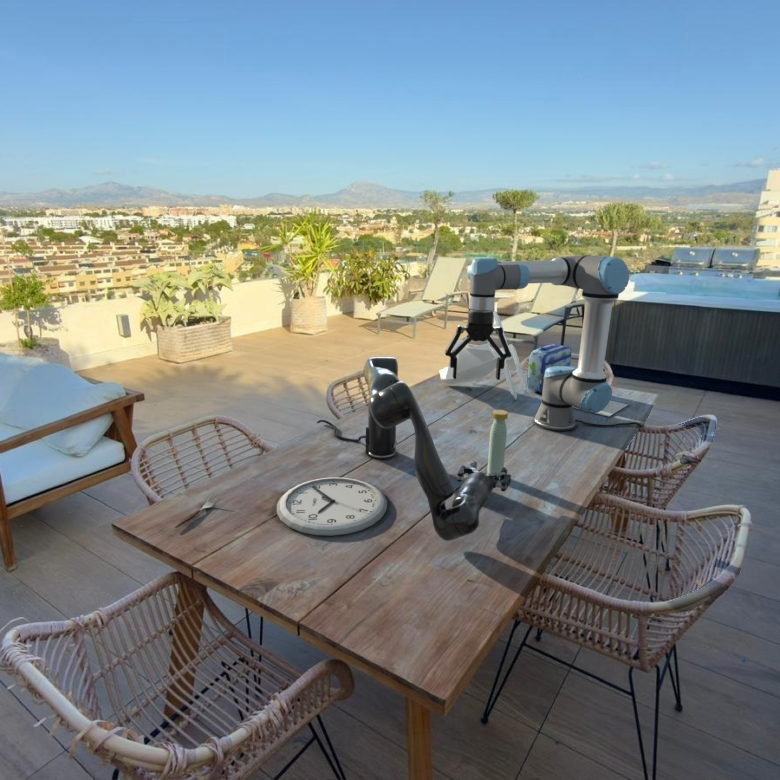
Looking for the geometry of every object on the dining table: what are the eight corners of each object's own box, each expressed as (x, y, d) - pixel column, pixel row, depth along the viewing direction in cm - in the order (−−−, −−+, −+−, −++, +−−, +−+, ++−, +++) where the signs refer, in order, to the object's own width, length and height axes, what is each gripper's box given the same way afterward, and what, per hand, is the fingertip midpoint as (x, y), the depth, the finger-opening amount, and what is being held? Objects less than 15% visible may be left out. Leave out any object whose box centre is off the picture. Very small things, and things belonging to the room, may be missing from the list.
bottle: (503, 480, 159) (509, 416, 152) (487, 479, 159) (492, 415, 153) (501, 473, 163) (507, 411, 157) (486, 472, 163) (491, 410, 157)
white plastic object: (461, 429, 252) (437, 405, 227) (444, 352, 274) (420, 323, 250) (535, 404, 240) (518, 377, 215) (510, 326, 262) (492, 293, 237)
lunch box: (543, 396, 238) (548, 352, 231) (522, 391, 245) (526, 347, 239) (570, 385, 255) (575, 343, 249) (550, 381, 262) (555, 340, 256)
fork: (171, 528, 130) (170, 521, 130) (212, 499, 145) (211, 492, 144) (179, 530, 129) (178, 523, 129) (220, 500, 144) (219, 494, 143)
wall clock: (392, 527, 129) (268, 531, 127) (391, 533, 130) (269, 537, 127) (383, 473, 158) (282, 475, 155) (383, 478, 158) (282, 480, 156)
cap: (508, 420, 153) (508, 415, 152) (493, 419, 153) (493, 414, 153) (506, 415, 157) (506, 410, 157) (491, 414, 157) (491, 409, 157)
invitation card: (608, 416, 214) (573, 407, 224) (608, 416, 214) (573, 408, 224) (628, 404, 229) (594, 396, 238) (628, 405, 229) (594, 397, 238)
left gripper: (502, 484, 134) (515, 460, 148) (449, 473, 140) (466, 451, 154) (500, 510, 137) (513, 484, 151) (448, 498, 142) (465, 474, 156)
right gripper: (519, 309, 161) (513, 375, 167) (438, 307, 161) (435, 374, 167) (525, 313, 154) (518, 382, 160) (440, 311, 154) (437, 380, 160)
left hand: (489, 467), depth 152 cm, fingers open, 8 cm apart
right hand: (475, 378), depth 164 cm, fingers open, 13 cm apart
